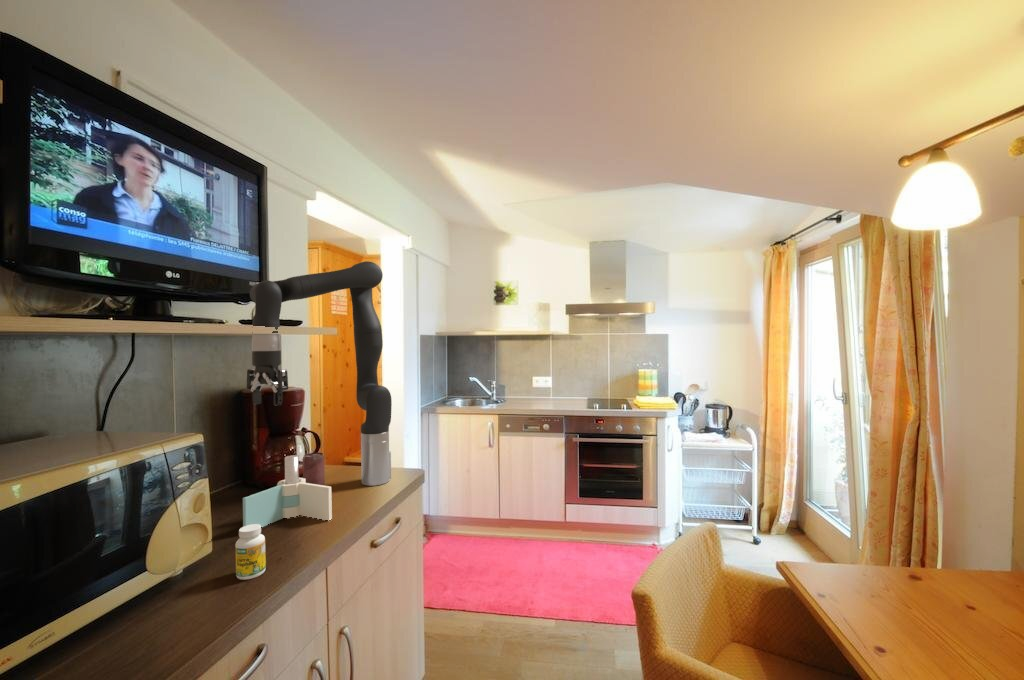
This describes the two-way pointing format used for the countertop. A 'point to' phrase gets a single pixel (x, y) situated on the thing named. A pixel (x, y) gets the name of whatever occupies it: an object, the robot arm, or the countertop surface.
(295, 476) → the hinge pin
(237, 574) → the supplement bottle
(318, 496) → the white hinge leaf
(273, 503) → the leaf
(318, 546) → the countertop surface
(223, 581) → the countertop surface
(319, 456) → the can
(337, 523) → the countertop surface
